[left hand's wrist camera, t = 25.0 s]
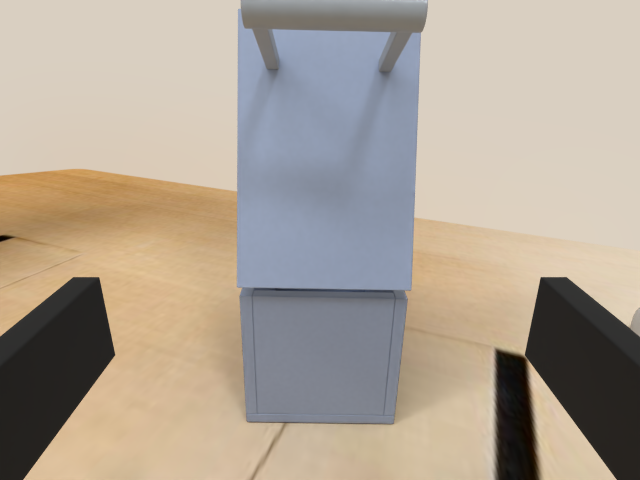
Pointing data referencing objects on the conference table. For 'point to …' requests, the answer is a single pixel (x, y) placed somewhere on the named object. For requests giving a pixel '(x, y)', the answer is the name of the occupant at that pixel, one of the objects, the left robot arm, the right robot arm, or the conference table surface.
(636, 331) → the projector
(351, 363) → the chest
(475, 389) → the conference table surface
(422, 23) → the lid
